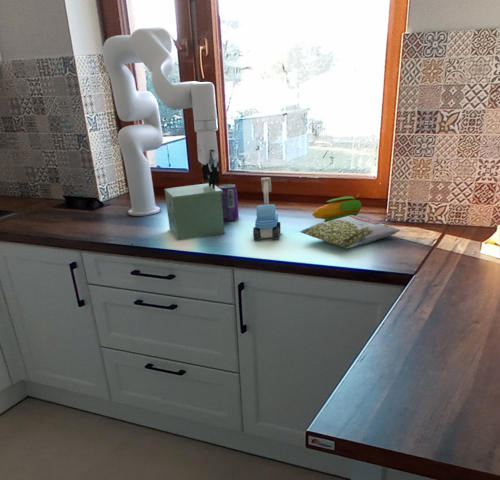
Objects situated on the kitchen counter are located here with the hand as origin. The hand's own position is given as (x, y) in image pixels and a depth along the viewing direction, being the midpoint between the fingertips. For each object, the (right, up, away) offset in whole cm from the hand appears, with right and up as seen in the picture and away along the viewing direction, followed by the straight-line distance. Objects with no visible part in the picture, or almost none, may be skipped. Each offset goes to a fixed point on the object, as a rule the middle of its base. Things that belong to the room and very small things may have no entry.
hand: (211, 181), depth 198 cm
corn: (+44, -10, +10) cm, 46 cm away
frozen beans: (+45, -23, -11) cm, 52 cm away
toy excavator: (+19, -19, -1) cm, 27 cm away
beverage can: (+5, -7, +19) cm, 21 cm away
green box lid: (-6, -4, 0) cm, 7 cm away
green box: (-6, -15, +7) cm, 18 cm away
